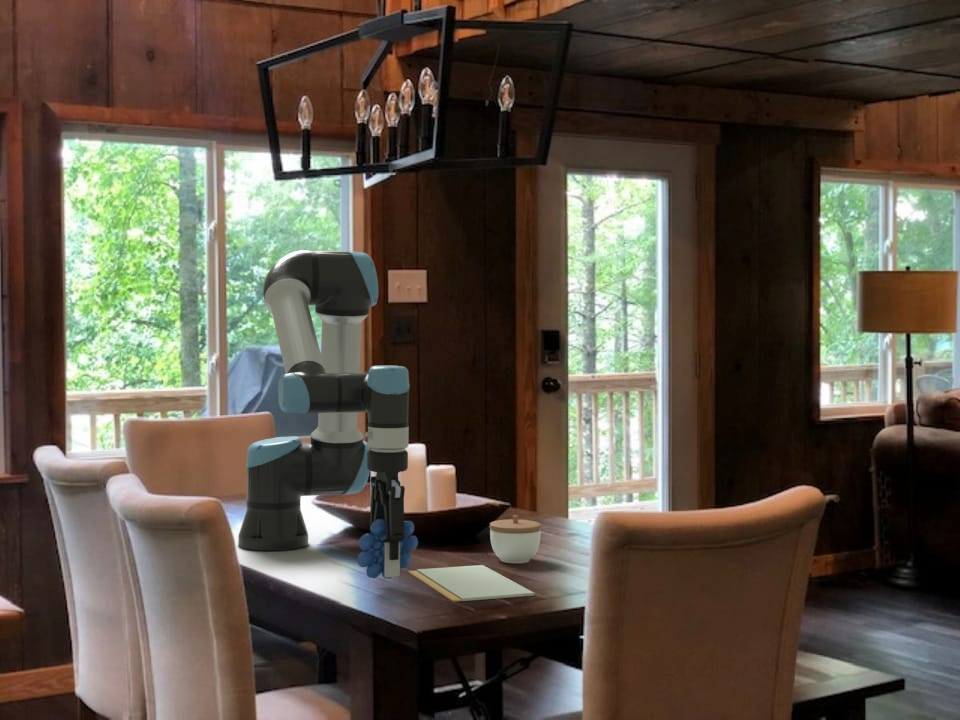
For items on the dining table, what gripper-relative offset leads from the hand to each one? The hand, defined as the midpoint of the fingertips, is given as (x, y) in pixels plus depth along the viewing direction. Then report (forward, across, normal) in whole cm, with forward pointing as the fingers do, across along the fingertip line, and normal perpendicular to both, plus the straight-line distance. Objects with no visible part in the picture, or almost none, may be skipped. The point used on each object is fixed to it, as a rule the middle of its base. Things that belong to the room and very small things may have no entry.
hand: (386, 571), depth 232 cm
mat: (+3, +1, +17) cm, 17 cm away
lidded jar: (+4, -16, +33) cm, 37 cm away
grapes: (+1, 0, 0) cm, 1 cm away
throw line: (+3, +1, +9) cm, 10 cm away
